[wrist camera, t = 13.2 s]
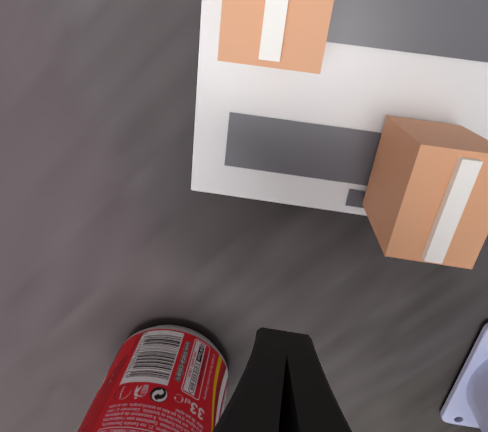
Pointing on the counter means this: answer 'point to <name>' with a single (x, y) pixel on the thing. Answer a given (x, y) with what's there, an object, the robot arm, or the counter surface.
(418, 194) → the tab far
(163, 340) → the soda can
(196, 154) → the switch bank
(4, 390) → the counter surface
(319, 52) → the tab near
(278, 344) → the robot arm
